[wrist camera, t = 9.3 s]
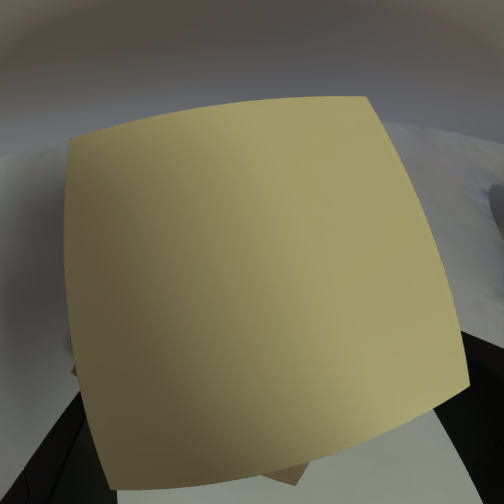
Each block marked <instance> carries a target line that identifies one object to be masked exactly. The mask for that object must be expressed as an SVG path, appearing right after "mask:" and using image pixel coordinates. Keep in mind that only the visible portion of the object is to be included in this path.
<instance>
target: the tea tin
mask: <svg viewBox="0 0 504 504" xmlns="http://www.w3.org/2000/svg"><path fill="white" fill-rule="evenodd" d="M64 271H65V288H66V300H67V311H68V320H69V328H70V336H71V343H72V349H73V355H74V361H75V367H76V372H77V377H78V382H79V387H80V391H81V396H82V400H83V404H84V408H85V412H86V416H87V420H88V423H89V427H90V431H91V434H92V437H93V441H94V444H95V447H96V450H97V453H98V456H99V459H100V462H101V465H102V468H103V471H104V473H105V476H106V479H107V481H108V484H109V487H110V489H111V490H154V489H170V488H181V487H191V486H200V485H207V484H214V483H221V482H227V481H232V480H238V479H243V478H248V477H253V476H257V475H262V474H266V473H270V472H274V471H278V470H282V469H286V468H289V467H293V466H296V465H300V464H303V463H307V462H310V461H313V460H316V459H319V458H322V457H325V456H328V455H331V454H334V453H337V452H339V451H342V450H345V449H347V448H350V447H353V446H355V445H358V444H360V443H363V442H365V441H367V440H370V439H372V438H374V437H377V436H379V435H381V434H383V433H386V432H388V431H390V430H392V429H394V428H396V427H398V426H400V425H402V424H404V423H406V422H408V421H410V420H412V419H414V418H416V417H418V416H420V415H422V414H424V413H426V412H427V411H429V410H431V409H433V408H435V407H436V406H438V405H440V404H442V403H443V402H445V401H447V400H448V399H450V398H452V397H453V396H455V395H456V394H458V393H460V392H461V391H463V390H464V389H466V388H467V387H469V386H470V382H469V375H468V368H467V362H466V357H465V351H464V346H463V341H462V336H461V332H460V327H459V323H458V318H457V314H456V310H455V306H454V302H453V299H452V295H451V291H450V288H449V284H448V281H447V277H446V274H445V271H444V268H443V265H442V261H441V258H440V255H439V252H438V249H437V247H436V244H435V241H434V238H433V235H432V233H431V230H430V227H429V225H428V222H427V219H426V217H425V214H424V212H423V209H422V207H421V204H420V202H419V200H418V197H417V195H416V193H415V190H414V188H413V186H412V184H411V181H410V179H409V177H408V175H407V173H406V170H405V168H404V166H403V164H402V162H401V160H400V158H399V156H398V154H397V152H396V150H395V148H394V146H393V144H392V142H391V140H390V138H389V136H388V135H387V133H386V131H385V129H384V127H383V125H382V124H381V122H380V120H379V118H378V116H377V115H376V113H375V111H374V110H373V108H372V106H371V105H370V103H369V101H368V99H367V98H366V97H354V96H351V97H350V96H326V97H298V98H281V99H267V100H256V101H246V102H237V103H230V104H222V105H215V106H208V107H201V108H195V109H189V110H184V111H179V112H173V113H168V114H163V115H158V116H153V117H149V118H144V119H141V120H137V121H132V122H128V123H124V124H120V125H116V126H112V127H109V128H105V129H101V130H98V131H95V132H91V133H88V134H85V135H82V136H78V137H75V138H72V139H70V144H69V152H68V161H67V172H66V184H65V201H64Z"/></svg>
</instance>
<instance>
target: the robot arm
mask: <svg viewBox="0 0 504 504" xmlns="http://www.w3.org/2000/svg"><path fill="white" fill-rule="evenodd" d="M460 332H461V336H462V341H463V346H464V351H465V357H466V362H467V368H468V375H469V382H470V386H469V387H467V388H466V389H464V390H463V391H461V392H460V393H458V394H456V395H455V396H453V397H452V398H450V399H448V400H447V401H445V402H443V403H442V404H440V405H438V406H436V407H435V408H433V410H434V411H435V413H436V415H437V417H438V418H439V420H440V422H441V424H442V425H443V427H444V429H445V431H446V432H447V434H448V436H449V438H450V439H451V441H452V443H453V445H454V447H455V449H456V450H457V452H458V454H459V456H460V458H461V460H462V462H463V464H464V465H465V467H466V469H467V471H468V472H469V473H468V474H469V476H470V477H471V479H472V481H473V483H474V485H475V487H476V489H477V491H478V494H479V496H480V498H481V500H482V502H483V504H504V348H501V347H499V346H496V345H494V344H492V343H489V342H487V341H484V340H482V339H480V338H477V337H475V336H472V335H470V334H467V333H465V332H463V331H460ZM0 504H118V503H117V490H111V489H110V487H109V484H108V481H107V479H106V476H105V473H104V471H103V468H102V465H101V462H100V459H99V456H98V453H97V450H96V447H95V444H94V441H93V437H92V434H91V431H90V427H89V423H88V420H87V416H86V412H85V408H84V404H83V400H82V396H81V391H79V392H78V393H77V395H76V396H75V397H74V399H73V400H72V401H71V403H70V404H69V405H68V407H67V408H66V410H65V411H64V412H63V414H62V415H61V416H60V418H59V419H58V420H57V422H56V423H55V425H54V426H53V427H52V429H51V430H50V432H49V433H48V434H47V436H46V437H45V439H44V440H43V441H42V443H41V444H40V446H39V447H38V448H37V450H36V451H35V453H34V454H33V456H32V457H31V459H30V460H29V462H28V463H27V464H26V466H25V467H24V470H22V472H21V473H20V475H19V476H18V478H17V479H16V481H15V482H14V483H13V485H12V486H11V488H10V489H9V491H8V492H7V493H6V494H5V496H4V497H3V498H2V500H1V501H0Z"/></svg>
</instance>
